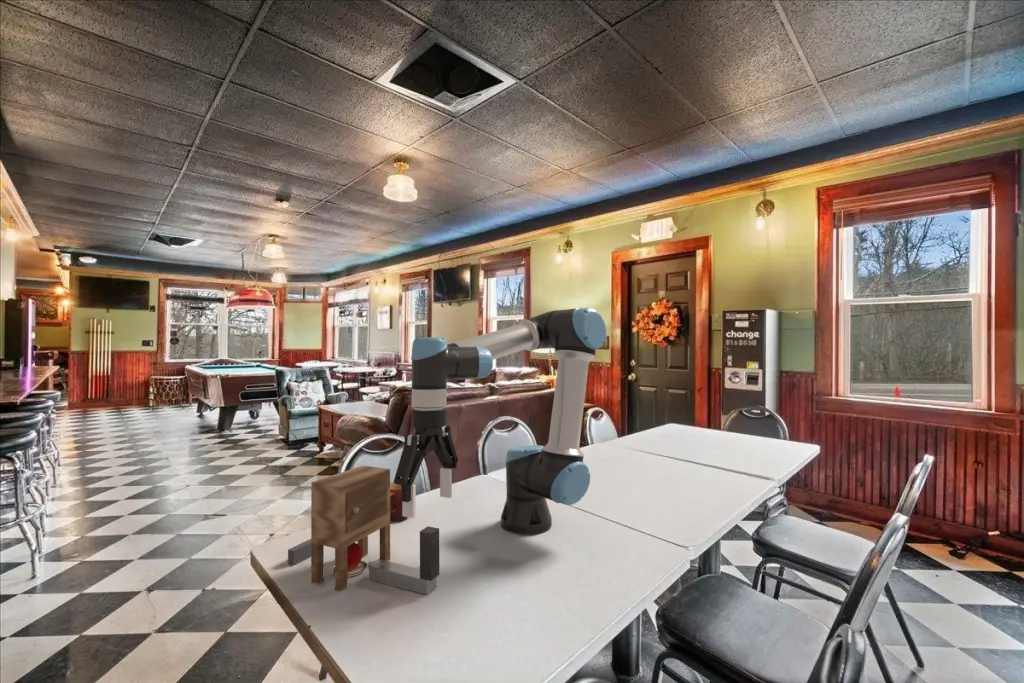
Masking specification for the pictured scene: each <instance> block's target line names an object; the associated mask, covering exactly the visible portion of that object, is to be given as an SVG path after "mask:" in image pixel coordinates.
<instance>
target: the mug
mask: <svg viewBox="0 0 1024 683" xmlns="http://www.w3.org/2000/svg"><path fill="white" fill-rule="evenodd" d="M401 498H402V487H401V485H400V484H395V483H394V481H390V523H391V522H393V523H399V522H403V521H405V520H407V519H408V518H409V517H404V516H402V499H401Z"/></svg>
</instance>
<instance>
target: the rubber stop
mask: <svg viewBox="0 0 1024 683" xmlns="http://www.w3.org/2000/svg"><path fill="white" fill-rule="evenodd" d="M310 558H311V538H309V539H308V540H305V541H303V542H301V543H299V544H297V545H294V546H293V547H291V548H288V549H287V564H288V565H290V566H293V567H294V566H296V565H298V564H300V563H302V562H304V561H306V560H307V559H310Z"/></svg>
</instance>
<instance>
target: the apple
mask: <svg viewBox="0 0 1024 683" xmlns="http://www.w3.org/2000/svg"><path fill="white" fill-rule="evenodd" d="M362 555H363V553H362V549H361V547H360V546H359V545H358V544H357V542H355V543H353V544H351V545H349V546H347V578H348V577H349V578H350V577H353V576H357V575H360V574H362V573H363V572H366V570H367V569H368V568H369V565H368V562H366V561H365V560H362V559H363V557H362ZM331 573H332V574H333V575H334V576H335V566H333V568H332V569H331Z"/></svg>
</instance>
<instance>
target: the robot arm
mask: <svg viewBox="0 0 1024 683" xmlns="http://www.w3.org/2000/svg"><path fill="white" fill-rule="evenodd" d="M606 340H607V325H606V323H605V319H604V318H603V316H602V315H601V313H599V311H598V310H596V309H594V308H592V307H576V308H568V309H555V310H551V311H547V312H543V313H541V314H537V315H536V316H535V315H534V316H532V317H529V318H526V319H523V320H521V321H520V322H519V323H518V324H516V325H514V326H509V327H506V328H502V329H499V330H495V331H491V332H487V333H484V334H480V335H476V336H473V337H468V338H465V339H462V340H458V341H454V342H451V343H448V341H447V339H446V338H445V337H433V336H432V337H429V336H428V337H426V336H425V337H415V339H413V340H412V341H413V342H412V347H411V356H410V360H411V407H412V408H413V409H411V414H410V415H411V418H410V419H411V421H410V422H411V424H410V425H411V426H412V428H414V430H415V431H414V435H413V434H405V436H404V441H403V442H404V443H403V448H402V453H401V455H400V458H399V462H398V466H397V469H396V472H395V476H394V478H393V482H394V483H395V484H400V485H401V487H402V498H401V499H402V516H404V517H408V518H409V519H415V518H416V505H417V504H416V490H417V488H416V486H417V485H416V484H414V481H415V479H416V477H417V475H418V473H419V470H420V468H421V466H422V464H423V460H424V459H425V457H427V456H428V455H429V453H432V451H433V452H434V454H435V455H436V457H437V459H438V461H439V462H440V464H441V466H442V467H440V468H439V497H441V498H448V499H450V498H451V499H452V497H453V496H452V492H453V489H452V487H453V483H452V482H453V469H457V465H458V464H457V463H458V461H459V459H458V458H459V457H458V455H457V452H456V448H455V445H454V441H453V438H452V431H451V430H452V429H451V426H450V425H447V409H446V408H445V407H447V405H448V404H447V403H448V402H447V397H448V396H447V395H448V394H447V392H448V391H447V382H448V381H451V380H478V379H483V378H487V377H488V376H490V374H491V373H492V371H493V368H494V364H493V363H494V360H496V359H500V358H503V357H506V356H508V355H512V354H514V353H515V354H516V353H518V352H521V351H522V352H523V351H524V350H525V351H529V352H533V351H536V350H540V349H541V350H542V349H545V350H547V349H554V350H553V351H554V354H555V356H557V358H558V365H557V371H556V378H555V387H554V395H553V404H552V409H551V410H552V411H551V419H550V426H549V435H548V442H547V443H546V445H545V446H544V445H540V444H539V445H537V444H536V445H534V444H533V445H523V446H521V445H520V446H515V447H512V448H510V449H509V450H507V452H506V457H505V458H506V460H505V472H506V474H505V475H506V478H505V480H506V481H505V482H506V498H505V499H506V500H505V502H504V505H503V508H502V511H501V515H500V527H501V528H502V529H503V530H504V531H505V532H509V533H511V534H514V535H524V536H525V535H528V536H529V535H538V534H543V533H545V532H547V531H549V530H550V529H551V528H552V525H553V524H552V523H553V519H552V515H551V511H550V509H549V506H548V505H549V504H548V502H547V500H549V501H553V502H554V503H556V504H562V505H566V506H572V505H575V504H577V503H578V502H580V501H581V500H582V499H583V498H584V496H585V495H586V494H587V492H588V489H589V486H590V483H591V473H590V472H591V471H590V469H589V467H588V466H587V464H586V463H584V453H583V452H582V450H581V448H580V442H581V433H582V426H583V415H584V407H585V400H586V393H587V392H586V391H587V382H588V373H589V365H590V364H589V363H590V362H591V361H592V360H594V359H595V358H596V352H597V350H598V349H600V348H602V347H603V345H605V342H606Z"/></svg>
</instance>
